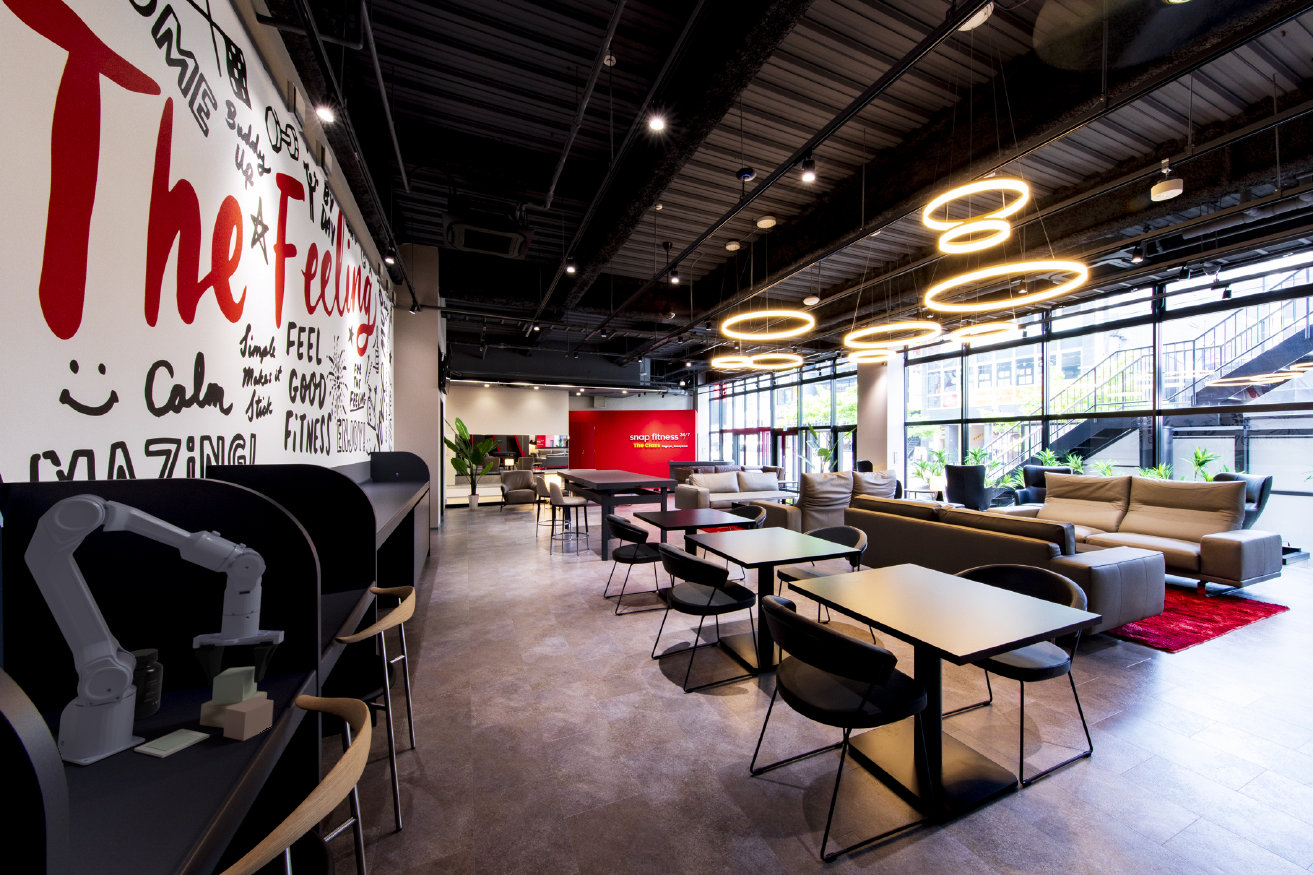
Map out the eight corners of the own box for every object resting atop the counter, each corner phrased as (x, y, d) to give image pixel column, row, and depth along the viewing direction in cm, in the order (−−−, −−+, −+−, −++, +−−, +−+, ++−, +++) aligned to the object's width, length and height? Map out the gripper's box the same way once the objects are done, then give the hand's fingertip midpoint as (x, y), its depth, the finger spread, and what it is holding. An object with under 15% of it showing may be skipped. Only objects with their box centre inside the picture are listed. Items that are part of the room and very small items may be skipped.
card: (134, 750, 86) (134, 747, 86) (182, 730, 93) (182, 728, 93) (162, 757, 84) (162, 754, 85) (209, 736, 91) (209, 733, 91)
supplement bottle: (98, 725, 95) (105, 659, 96) (128, 708, 101) (134, 647, 102) (142, 722, 96) (147, 657, 97) (168, 705, 103) (173, 645, 104)
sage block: (211, 704, 96) (213, 677, 96) (227, 693, 100) (229, 668, 101) (242, 702, 97) (244, 675, 97) (256, 691, 102) (258, 666, 102)
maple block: (199, 725, 96) (201, 704, 96) (236, 709, 102) (238, 688, 103) (230, 729, 94) (232, 707, 95) (265, 712, 101) (267, 692, 101)
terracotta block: (223, 736, 92) (225, 708, 92) (252, 723, 96) (254, 696, 97) (243, 741, 90) (245, 712, 91) (271, 727, 95) (273, 700, 95)
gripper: (184, 619, 94) (178, 693, 93) (273, 615, 98) (268, 687, 97) (208, 609, 101) (202, 678, 100) (290, 606, 104) (285, 673, 104)
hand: (236, 682), depth 99 cm, fingers open, 7 cm apart
